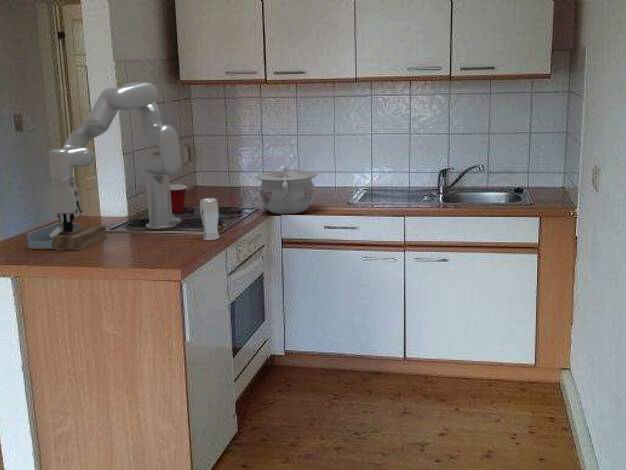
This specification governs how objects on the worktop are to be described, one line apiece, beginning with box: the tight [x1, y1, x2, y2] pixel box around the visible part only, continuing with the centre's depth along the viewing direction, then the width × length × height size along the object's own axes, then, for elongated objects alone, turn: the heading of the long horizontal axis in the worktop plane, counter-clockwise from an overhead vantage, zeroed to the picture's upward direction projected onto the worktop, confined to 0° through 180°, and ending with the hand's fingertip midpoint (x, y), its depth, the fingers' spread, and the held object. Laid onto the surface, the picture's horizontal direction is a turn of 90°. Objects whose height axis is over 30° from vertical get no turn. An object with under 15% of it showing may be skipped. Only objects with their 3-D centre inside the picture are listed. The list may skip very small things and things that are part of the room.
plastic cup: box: [170, 184, 188, 213], centre depth 323 cm, size 11×11×12 cm
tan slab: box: [52, 225, 108, 251], centre depth 263 cm, size 10×20×5 cm, turn 166°
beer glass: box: [199, 197, 220, 241], centre depth 264 cm, size 7×7×15 cm
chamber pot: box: [255, 166, 318, 216], centre depth 311 cm, size 28×28×21 cm
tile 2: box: [49, 226, 64, 238], centre depth 259 cm, size 5×5×2 cm
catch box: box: [26, 222, 81, 249], centre depth 265 cm, size 10×20×6 cm, turn 166°
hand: (68, 231), depth 258 cm, fingers closed
